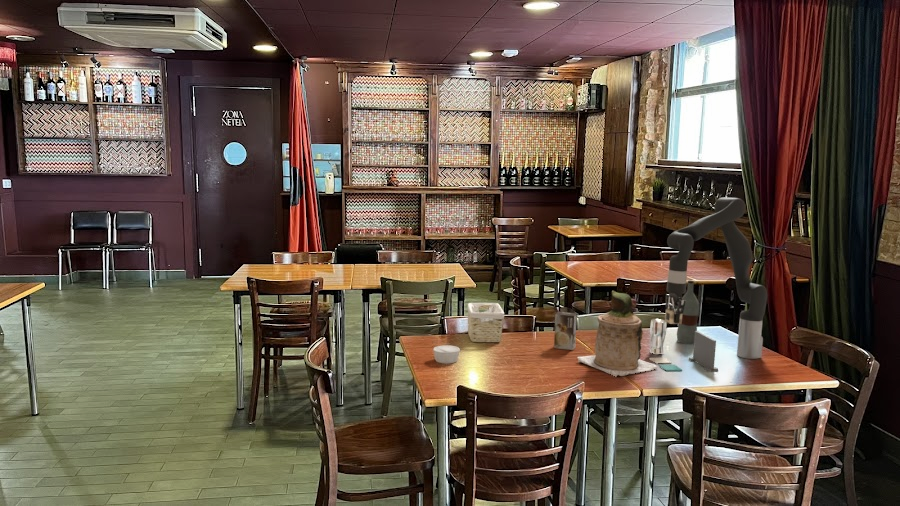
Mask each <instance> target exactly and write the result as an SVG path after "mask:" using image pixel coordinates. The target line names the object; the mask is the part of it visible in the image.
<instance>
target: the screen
mask: <svg viewBox="0 0 900 506" xmlns="http://www.w3.org/2000/svg"><path fill="white" fill-rule="evenodd" d="M716 348H717V340H715V339H714V338H712V337H710V336H709V335H706V334H705V333H703V332H701V331H699V330H697V331H695V338H694V344H693V353H692V357H688V360H689V361H690V360H691V361H690V362H695V363H697V362H698V363H697V364H699V365H700V364H701V365H700V366H701V367H704V368H703V369H704V371H706V372H719V368H718V367H715V360H716Z"/></svg>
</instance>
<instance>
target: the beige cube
mask: <svg viewBox="0 0 900 506" xmlns="http://www.w3.org/2000/svg"><path fill="white" fill-rule="evenodd" d="M676 311H677V309H676ZM664 314H665V315H664V320H665V321H666V323H668V324H670V325H679V324H682V314H680V320H679V323H674V309H667V308H665V313H664Z"/></svg>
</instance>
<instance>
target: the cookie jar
mask: <svg viewBox="0 0 900 506" xmlns="http://www.w3.org/2000/svg"><path fill="white" fill-rule="evenodd" d="M610 303H611V306H612V309H611V310H610V311H608V312H606V313H604V314H600V315H598V316H596V317H597V322H598V328H597V333H596V337H595V342H594V353H595V354H594V355H587V356H586V355H585V356H577V360H578V363H583V364H585V365H587V366H590V367H592V368H594V369H597V370H599V371H602V372H605V373H606V374H609V375H610V374H611V375H610V376H612V375H613V377H614V376H615V378H616V377H617V376H620V377H624V376H627V375H636V374H640V372H641V373H645V371H646V372H651V370H652V371H655V370H657V369H658V364H655V363H651V362H649V361H645V360H642V359H641V356H642V355H641V349H642V346H641V345H642V343H641V342H642V339H643V332H644V331H643V322H642V320H641V318H639V317H638V316H637V315H635V314H634V310H633V309H634V308H635V309H636V307H637V299H635V298H632V297H631V296H630V295H629V294H627V293H621V292H616V291H615V290H612V291H611V300H610ZM654 369H655V370H654ZM635 373H636V374H635Z"/></svg>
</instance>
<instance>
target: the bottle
mask: <svg viewBox="0 0 900 506" xmlns="http://www.w3.org/2000/svg"><path fill="white" fill-rule="evenodd" d="M694 282H695V280H687V287H686V289H687V290H686V292H685V293H684V295H682V300H685V301H686V302H685V307H684V312H683V314H682V324H677V325H678V326H677V329H676V330H677V331H676V339H677V342H678V341H679V342H678V343H680V342H681V344H684V343H686V344H685V345H694V338H695V331H698V327H697V324H698V318H699V311H700V303H699V300H698V298H697V297H696V295H695V293H694V284H695V283H694Z"/></svg>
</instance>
